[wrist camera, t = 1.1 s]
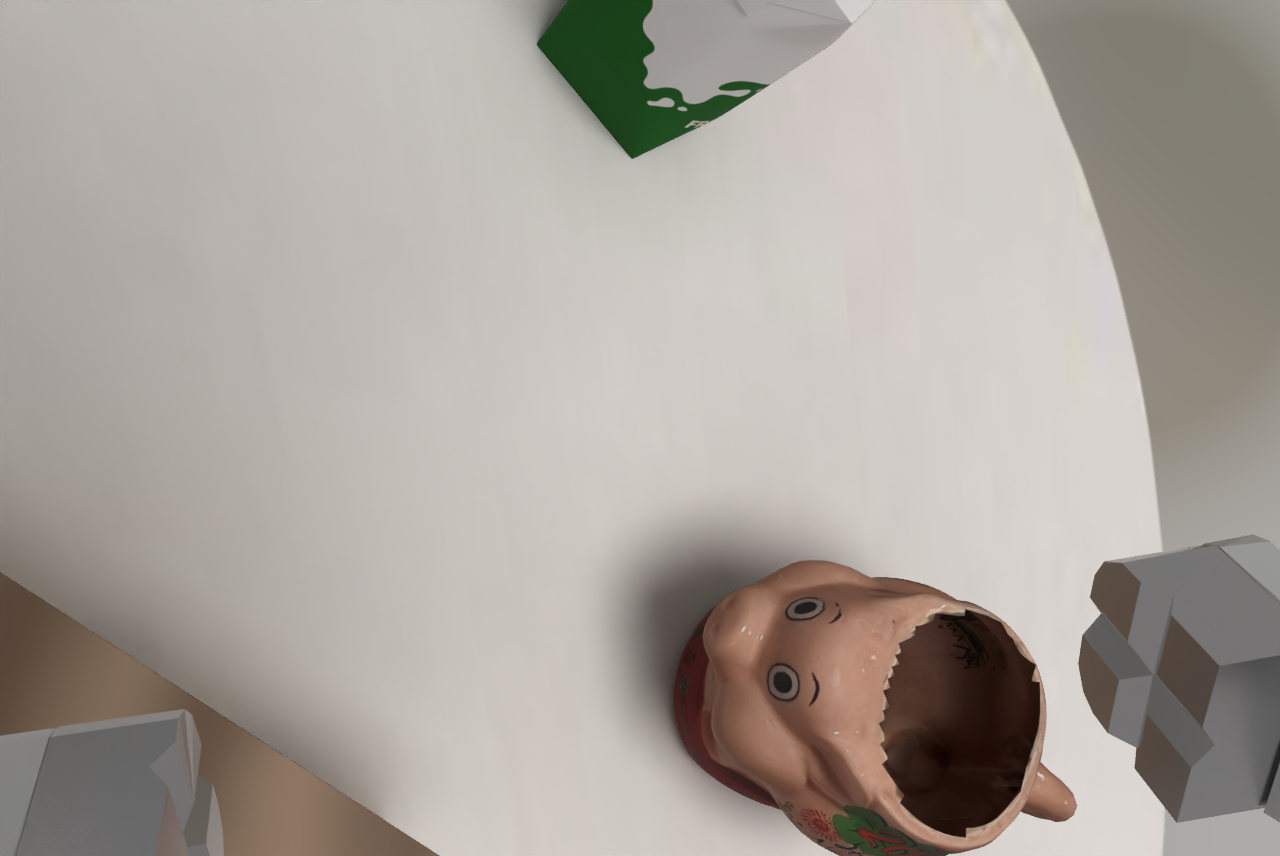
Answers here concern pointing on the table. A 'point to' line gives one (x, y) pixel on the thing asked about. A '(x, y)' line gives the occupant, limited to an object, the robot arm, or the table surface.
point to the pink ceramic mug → (869, 712)
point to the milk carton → (684, 57)
